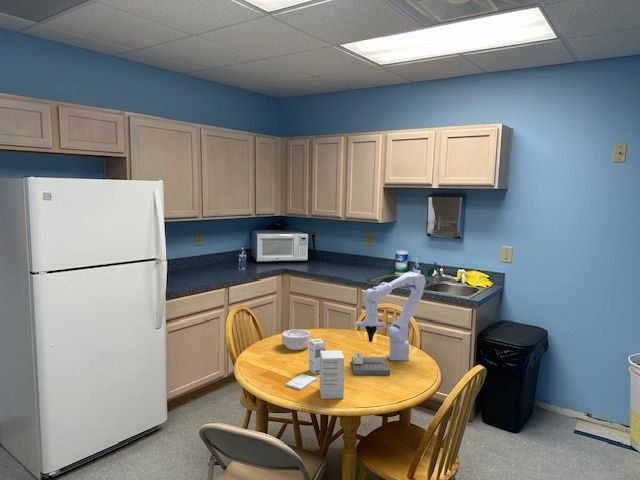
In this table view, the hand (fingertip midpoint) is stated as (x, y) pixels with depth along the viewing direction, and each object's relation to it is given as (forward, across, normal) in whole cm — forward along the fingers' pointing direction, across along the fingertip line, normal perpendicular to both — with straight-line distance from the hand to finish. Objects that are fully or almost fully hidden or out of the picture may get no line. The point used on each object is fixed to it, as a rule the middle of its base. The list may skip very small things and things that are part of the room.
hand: (370, 341), depth 215 cm
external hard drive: (+11, +33, +25) cm, 43 cm away
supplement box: (+11, +20, +35) cm, 42 cm away
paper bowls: (+11, +37, -19) cm, 43 cm away
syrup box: (+11, +26, +12) cm, 30 cm away
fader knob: (+8, +6, +8) cm, 13 cm away
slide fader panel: (+10, +1, +8) cm, 13 cm away
